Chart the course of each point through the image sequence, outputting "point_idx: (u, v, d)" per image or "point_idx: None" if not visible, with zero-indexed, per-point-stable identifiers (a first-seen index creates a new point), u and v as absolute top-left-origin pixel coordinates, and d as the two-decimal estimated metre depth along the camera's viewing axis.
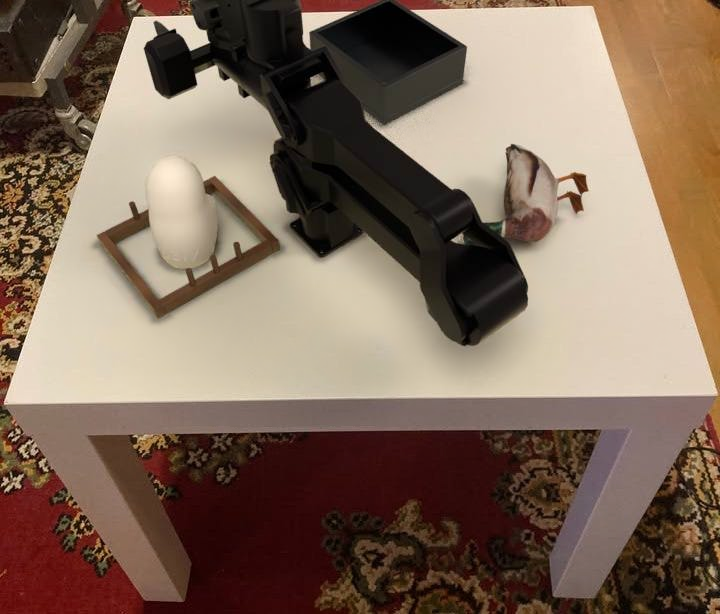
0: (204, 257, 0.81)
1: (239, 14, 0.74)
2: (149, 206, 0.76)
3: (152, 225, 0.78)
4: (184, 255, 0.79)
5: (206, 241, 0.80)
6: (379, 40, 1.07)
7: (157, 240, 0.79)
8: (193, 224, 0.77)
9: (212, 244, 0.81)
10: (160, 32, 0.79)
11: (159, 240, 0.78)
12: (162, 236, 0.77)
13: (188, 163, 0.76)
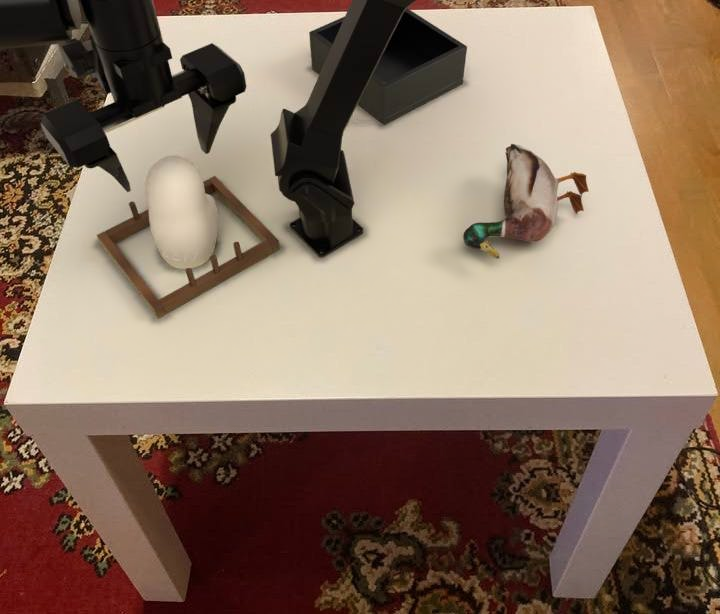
0: (204, 257, 0.81)
1: None
2: (149, 206, 0.76)
3: (152, 225, 0.78)
4: (184, 255, 0.79)
5: (206, 241, 0.80)
6: None
7: (157, 240, 0.79)
8: (193, 224, 0.77)
9: (212, 244, 0.81)
10: None
11: (159, 240, 0.78)
12: (162, 236, 0.77)
13: (188, 162, 0.76)
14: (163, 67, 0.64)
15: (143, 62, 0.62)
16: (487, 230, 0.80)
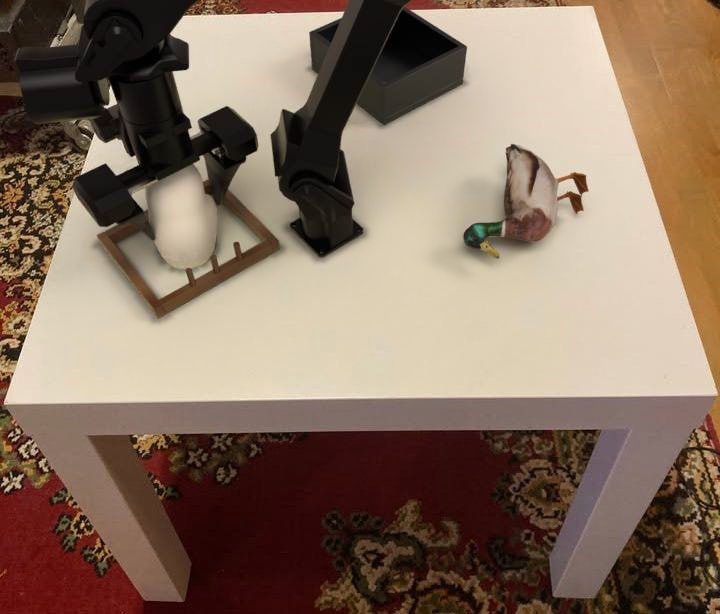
0: (204, 257, 0.81)
1: None
2: (149, 206, 0.76)
3: (152, 225, 0.78)
4: (184, 256, 0.79)
5: (206, 241, 0.80)
6: None
7: (157, 240, 0.79)
8: (193, 224, 0.77)
9: (212, 245, 0.81)
10: None
11: (158, 240, 0.78)
12: (162, 236, 0.77)
13: None
14: (183, 135, 0.70)
15: (166, 133, 0.68)
16: (487, 230, 0.80)
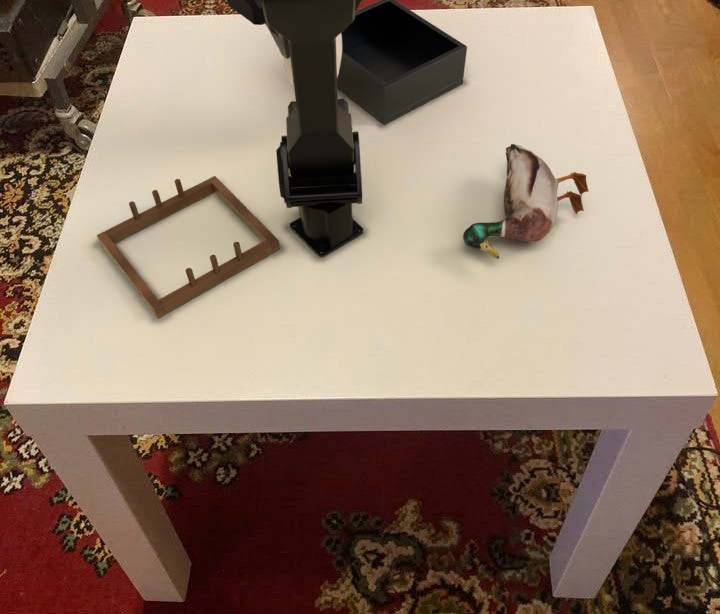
0: None
1: None
2: None
3: None
4: None
5: None
6: (379, 40, 1.07)
7: None
8: None
9: (338, 68, 0.87)
10: None
11: None
12: None
13: None
14: None
15: None
16: (487, 230, 0.80)
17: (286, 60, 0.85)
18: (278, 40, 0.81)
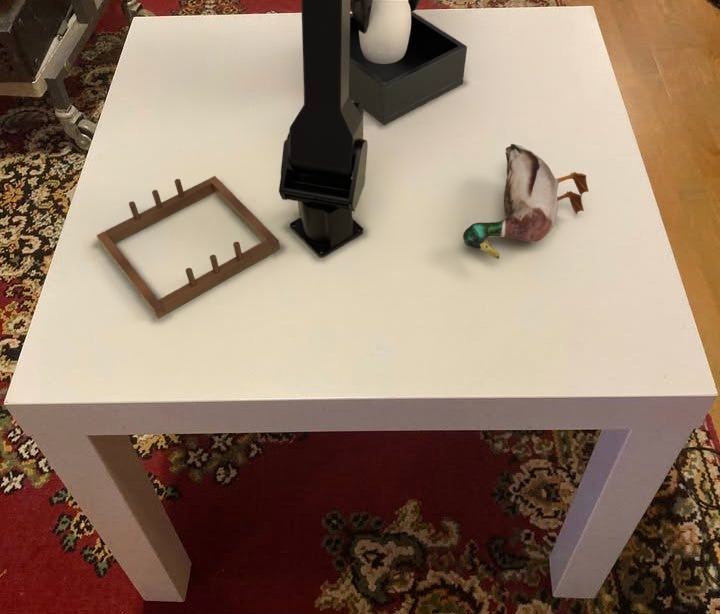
0: (401, 53, 0.97)
1: None
2: None
3: None
4: (388, 48, 0.95)
5: (405, 36, 0.96)
6: None
7: (367, 33, 0.94)
8: (400, 16, 0.93)
9: (407, 43, 0.97)
10: (349, 4, 0.92)
11: (369, 32, 0.94)
12: (373, 27, 0.93)
13: None
14: None
15: None
16: (487, 230, 0.80)
17: (362, 35, 0.95)
18: (358, 16, 0.92)
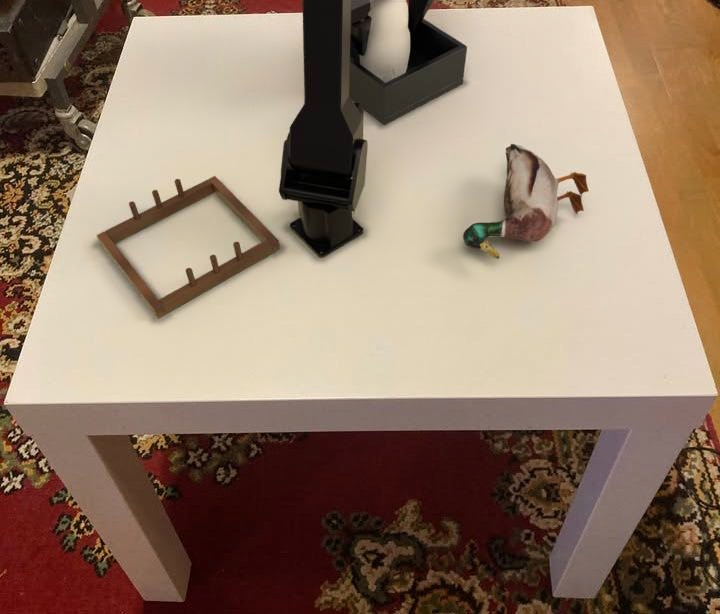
0: None
1: None
2: None
3: None
4: (388, 71, 0.98)
5: (405, 60, 0.98)
6: None
7: (367, 57, 0.97)
8: (400, 42, 0.96)
9: (406, 66, 1.00)
10: None
11: (369, 56, 0.97)
12: (374, 52, 0.96)
13: None
14: None
15: None
16: (487, 230, 0.80)
17: (363, 58, 0.98)
18: (356, 40, 0.95)
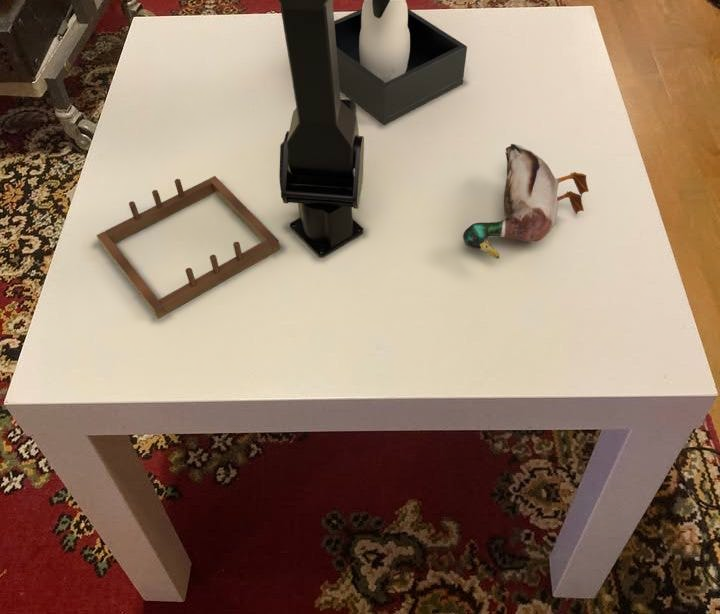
0: None
1: None
2: (366, 27, 0.95)
3: (365, 44, 0.96)
4: (388, 72, 0.98)
5: (405, 60, 0.98)
6: None
7: (367, 58, 0.97)
8: (400, 42, 0.96)
9: (406, 66, 1.00)
10: None
11: (369, 57, 0.97)
12: (374, 53, 0.96)
13: None
14: None
15: None
16: (487, 230, 0.80)
17: (363, 59, 0.98)
18: None
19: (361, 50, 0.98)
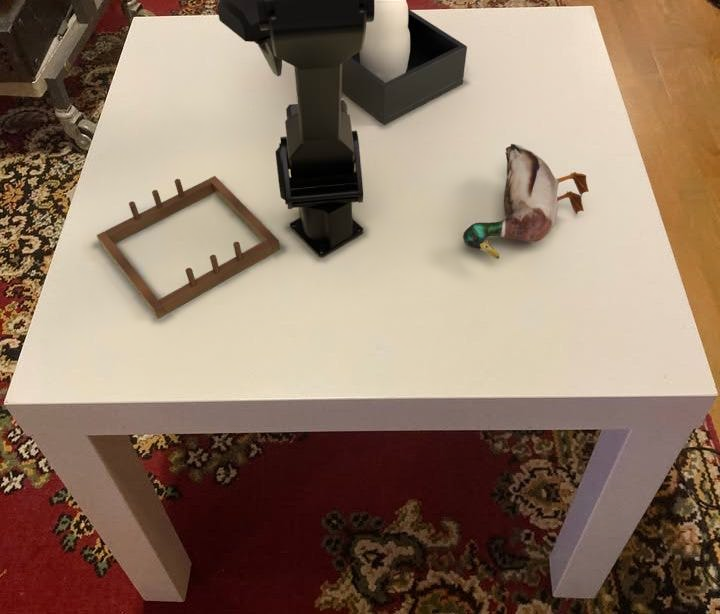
0: None
1: None
2: (366, 26, 0.95)
3: (366, 44, 0.96)
4: (388, 71, 0.98)
5: (405, 60, 0.98)
6: None
7: (368, 57, 0.97)
8: (400, 41, 0.96)
9: (406, 66, 1.00)
10: (259, 44, 0.79)
11: (370, 56, 0.97)
12: (374, 52, 0.96)
13: None
14: None
15: None
16: (487, 230, 0.80)
17: (363, 58, 0.98)
18: (268, 58, 0.79)
19: (361, 50, 0.98)
